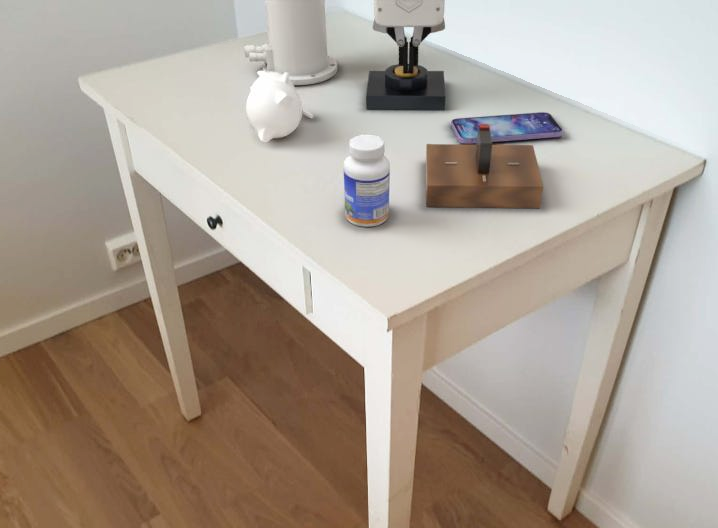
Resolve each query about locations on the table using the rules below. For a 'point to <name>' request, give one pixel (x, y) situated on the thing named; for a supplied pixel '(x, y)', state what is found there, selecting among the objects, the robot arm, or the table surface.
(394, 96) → the black stepped base
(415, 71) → the bell button
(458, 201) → the plate
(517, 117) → the smartphone
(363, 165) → the pill bottle
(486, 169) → the lock knob
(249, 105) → the cat figurine
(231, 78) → the table surface
